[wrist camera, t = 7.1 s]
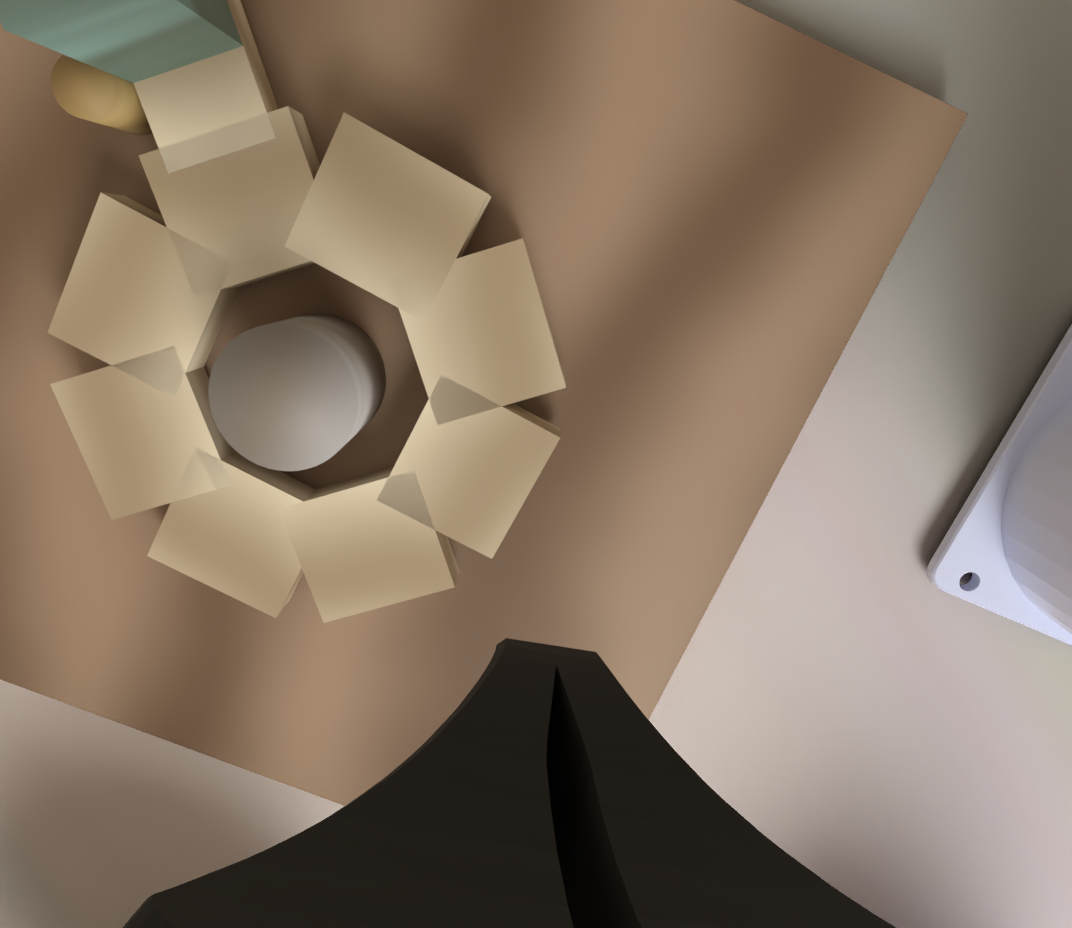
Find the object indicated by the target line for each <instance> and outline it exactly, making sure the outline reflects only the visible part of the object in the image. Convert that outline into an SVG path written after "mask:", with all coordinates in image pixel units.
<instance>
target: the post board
mask: <svg viewBox="0 0 1072 928" xmlns="http://www.w3.org/2000/svg"><path fill="white" fill-rule="evenodd" d="M240 1H241V4H242V6H243V9H244V12H245V15H246V18H247V21H248V24H249V26H250V29H251V32H252V35H253V38H254V41H255V44H256V46H257V49H258V52H259V55H260V58H261V61H262V64H263V66H264V69H265V72H266V75H267V78H268V81H269V84H270V86H271V89H272V92H273V95H274V98H275V101H276V104H277V106H278V109H281V108H284V107H287V106H289V107H291V108H292V109H294V110H296V111H298V112H299V113H301V114H303V117H304V120H305V123H306V126H307V129H308V132H309V135H310V138H311V141H312V144H313V146H314V149H315V152H316V155H317V158H318V161H319V164H320V165H321V163H322V161H323V158H324V156H325V154H326V152H327V149H328V147H329V145H330V143H331V140H332V138H333V136H334V134H335V131H336V129H337V127H338V125H339V122H340V120H341V118H342V116H343V113H344V112H345V113H346V114H348V115H350V116H352V117H354V118H355V119H357V120H359V121H361V122H362V123H364V124H366V125H368V126H369V127H371V128H373V129H375V130H376V131H378V132H380V133H382V134H384V135H385V136H387V137H389V138H391V139H392V140H394V141H396V142H398V143H399V144H401V145H403V146H405V147H406V148H408V149H410V150H412V151H414V152H415V153H417V154H419V155H421V156H422V157H424V158H426V159H428V160H429V161H431V162H433V163H435V164H437V165H438V166H440V167H442V168H444V169H445V170H447V171H449V172H451V173H452V174H454V175H456V176H458V177H459V178H461V179H463V180H465V181H467V182H468V183H470V184H472V185H474V186H475V187H477V188H479V189H481V190H482V191H484V192H486V193H488V194H489V195H490V196H491V199H490V201H489V203H488V205H487V207H486V209H485V211H484V213H483V215H482V217H481V219H480V221H479V223H478V225H477V227H476V229H475V231H474V233H473V235H472V237H471V239H470V241H469V243H468V245H467V247H466V249H465V251H464V253H463V255H462V257H464V256H467V255H470V254H473V253H477V252H480V251H483V250H486V249H489V248H493V247H496V246H499V245H502V244H506V243H509V242H512V241H515V240H519V239H522V238H523V239H524V240H525V244H526V247H527V251H528V254H529V257H530V261H531V264H532V268H533V271H534V275H535V278H536V282H537V285H538V289H539V292H540V295H541V299H542V302H543V306H544V309H545V313H546V316H547V320H548V323H549V327H550V330H551V334H552V337H553V340H554V344H555V347H556V351H557V354H558V358H559V361H560V365H561V368H562V372H563V375H564V378H565V383H566V388H563V389H560V390H556V391H553V392H550V393H546V394H543V395H539V396H536V397H532V398H529V399H526V400H522V401H519V402H515V403H513V404H515V405H517V406H519V407H521V408H523V409H525V410H526V411H528V412H530V413H532V414H534V415H536V416H538V417H539V418H541V419H543V420H545V421H547V422H549V423H551V424H553V425H554V426H556V427H558V428H560V440H559V441H558V443H557V445H556V447H555V448H554V450H553V452H552V454H551V455H550V457H549V459H548V461H547V463H546V464H545V466H544V468H543V470H542V471H541V473H540V475H539V477H538V478H537V480H536V482H535V484H534V486H533V487H532V489H531V491H530V493H529V494H528V496H527V498H526V500H525V501H524V503H523V505H522V507H521V509H520V510H519V512H518V514H517V516H516V517H515V519H514V521H513V523H512V524H511V526H510V528H509V530H508V532H507V533H506V535H505V537H504V539H503V540H502V542H501V544H500V546H499V547H498V549H497V551H496V553H495V555H494V556H493V558H492V559H491V558H489V557H487V556H485V555H483V554H481V553H479V552H477V551H475V550H473V549H471V548H469V547H467V546H465V545H463V544H461V543H460V542H458V541H456V540H454V539H452V538H450V537H448V536H447V537H448V540H449V542H450V545H451V548H452V551H453V554H454V557H455V560H456V563H457V566H458V569H459V574H458V578H457V581H456V585H455V587H454V588H450V589H447V590H443V591H439V592H436V593H432V594H428V595H425V596H421V597H417V598H414V599H410V600H406V601H403V602H399V603H395V604H392V605H388V606H384V607H381V608H377V609H373V610H370V611H366V612H362V613H359V614H355V615H351V616H348V617H344V618H340V619H337V620H333V621H329V622H326V623H323V620H322V618H321V615H320V613H319V610H318V608H317V605H316V603H315V600H314V597H313V595H312V592H311V590H310V587H309V585H308V582H307V580H306V577H305V575H304V572H303V574H302V576H301V578H300V580H299V582H298V584H297V586H296V588H295V590H294V592H293V594H292V596H291V598H290V600H289V602H288V603H287V604H286V606H285V607H284V608H283V610H282V611H281V612H280V614H279V615H278V616H277V618H274V617H272V616H270V615H268V614H266V613H264V612H262V611H260V610H258V609H256V608H254V607H252V606H250V605H247V604H245V603H243V602H241V601H239V600H237V599H235V598H233V597H231V596H229V595H227V594H225V593H223V592H221V591H218V590H216V589H214V588H212V587H210V586H208V585H206V584H204V583H202V582H200V581H198V580H196V579H194V578H192V577H189V576H187V575H185V574H183V573H181V572H179V571H177V570H175V569H173V568H171V567H169V566H167V565H165V564H163V563H160V562H158V561H156V560H154V559H152V558H150V557H148V556H147V555H148V553H149V550H150V548H151V546H152V544H153V541H154V539H155V537H156V535H157V532H158V530H159V528H160V526H161V523H162V521H163V519H164V517H165V514H166V512H167V510H168V508H169V505H170V503H168V504H165V505H162V506H158V507H155V508H151V509H148V510H144V511H141V512H138V513H134V514H131V515H127V516H124V517H120V518H117V519H113V520H111V518H110V515H109V513H108V511H107V509H106V507H105V504H104V502H103V500H102V498H101V496H100V493H99V491H98V489H97V487H96V484H95V482H94V480H93V478H92V476H91V473H90V471H89V469H88V467H87V465H86V462H85V460H84V458H83V456H82V454H81V451H80V449H79V447H78V445H77V443H76V440H75V438H74V436H73V434H72V432H71V429H70V427H69V425H68V423H67V420H66V418H65V416H64V414H63V412H62V409H61V407H60V405H59V403H58V401H57V398H56V396H55V394H54V392H53V390H52V387H51V385H50V384H52V383H56V382H59V381H62V380H65V379H69V378H72V377H75V376H78V375H82V374H85V373H88V372H91V371H95V370H98V369H101V368H104V367H107V366H111V365H110V364H108V363H106V362H104V361H102V360H100V359H98V358H96V357H94V356H92V355H90V354H88V353H86V352H84V351H82V350H80V349H78V348H76V347H74V346H72V345H70V344H68V343H67V342H65V341H63V340H61V339H59V338H57V337H55V336H53V335H51V334H49V333H47V332H48V330H49V327H50V324H51V322H52V319H53V316H54V314H55V311H56V308H57V306H58V303H59V301H60V298H61V295H62V293H63V290H64V287H65V285H66V282H67V279H68V277H69V274H70V272H71V269H72V266H73V264H74V261H75V258H76V256H77V253H78V250H79V248H80V245H81V243H82V240H83V237H84V235H85V232H86V229H87V227H88V224H89V221H90V219H91V216H92V214H93V211H94V208H95V206H96V203H97V200H98V198H99V195H100V192H102V193H110V194H117V195H124V196H127V197H128V198H130V199H132V200H134V201H136V202H138V203H140V204H142V205H143V206H145V207H147V208H149V209H151V210H153V211H155V212H156V213H158V214H160V215H162V214H161V211H160V209H159V206H158V204H157V201H156V199H155V196H154V194H153V191H152V189H151V186H150V184H149V181H148V179H147V176H146V174H145V171H144V169H143V166H142V163H141V161H140V158H139V155H142V154H145V153H148V152H151V151H154V150H157V149H159V148H158V145H157V143H156V140H155V138H154V135H153V133H152V130H151V128H150V125H149V122H148V120H147V117H146V115H145V112H144V110H143V107H142V104H141V102H140V99H139V97H138V94H137V92H136V89H135V86H134V84H133V83H131V82H129V81H127V80H124V79H122V78H119V77H117V76H114V75H112V74H110V73H107V72H105V71H102V70H100V69H98V68H95V67H93V66H90V65H88V64H85V63H83V62H81V61H78V60H76V59H73V58H71V57H68V56H66V55H64V54H61V53H59V52H56V51H54V50H51V49H49V48H47V47H44V46H42V45H39V44H37V43H34V42H32V41H30V40H27V39H25V38H22V37H20V36H18V35H15V34H13V33H10V32H8V31H5V30H3V27H2V25H1V23H0V679H1V680H4V681H7V682H9V683H12V684H15V685H18V686H20V687H23V688H26V689H29V690H31V691H34V692H37V693H39V694H42V695H45V696H48V697H50V698H53V699H56V700H58V701H61V702H64V703H67V704H69V705H72V706H75V707H78V708H80V709H83V710H86V711H88V712H91V713H94V714H97V715H99V716H102V717H105V718H107V719H110V720H113V721H116V722H118V723H121V724H124V725H127V726H129V727H132V728H135V729H137V730H140V731H143V732H146V733H148V734H151V735H154V736H156V737H159V738H162V739H165V740H167V741H170V742H173V743H175V744H178V745H181V746H184V747H186V748H189V749H192V750H195V751H197V752H200V753H203V754H205V755H208V756H211V757H214V758H216V759H219V760H222V761H224V762H227V763H230V764H233V765H235V766H238V767H241V768H244V769H246V770H249V771H252V772H254V773H257V774H260V775H263V776H265V777H268V778H271V779H273V780H276V781H279V782H282V783H284V784H287V785H290V786H293V787H295V788H298V789H301V790H303V791H306V792H309V793H312V794H314V795H317V796H320V797H322V798H325V799H328V800H331V801H333V802H336V803H339V804H342V805H344V806H346V805H348V804H349V803H350V802H352V801H353V800H354V799H356V798H357V797H359V796H360V795H361V794H363V793H364V792H366V791H367V790H368V789H370V788H371V787H373V786H374V785H375V784H377V783H378V782H380V781H381V780H382V779H383V778H385V777H386V776H387V775H388V774H390V773H391V772H392V771H393V770H394V769H396V768H397V767H398V766H399V765H400V764H402V763H403V762H404V761H405V760H406V759H407V758H409V757H410V756H411V755H412V754H413V753H414V752H415V751H416V750H417V749H418V748H419V747H421V746H422V745H423V744H424V743H425V742H426V741H427V740H428V739H429V738H430V737H431V736H432V735H433V733H434V732H435V731H436V730H437V729H438V728H439V727H440V726H441V725H442V724H443V723H444V722H445V721H446V720H447V718H448V717H449V716H450V715H451V714H452V713H453V712H454V711H455V710H456V709H457V707H458V706H459V705H460V704H461V702H462V701H463V700H464V699H465V697H466V696H467V695H468V693H469V692H470V691H471V689H472V688H473V687H474V685H475V684H476V683H477V682H478V680H479V679H480V677H481V676H482V674H483V672H484V671H485V669H486V668H487V666H488V664H489V663H490V661H491V659H492V657H493V655H494V652H495V650H496V645H497V644H498V643H500V642H501V641H503V640H504V639H506V638H509V639H516V640H522V641H529V642H535V643H542V644H548V645H555V646H561V647H568V648H574V649H581V650H587V651H594V652H597V654H598V655H599V656H600V657H601V659H602V660H603V661H604V663H605V664H606V665H607V667H608V668H609V669H610V671H611V672H612V674H613V675H614V676H615V678H616V679H617V680H618V682H619V683H620V684H621V686H622V687H623V688H624V690H625V691H626V692H627V694H628V695H629V696H630V697H631V699H632V700H633V701H634V703H635V704H636V705H637V706H638V708H639V709H640V710H641V711H642V713H643V714H644V715H645V716H646V718H647V719H648V720H649V718H650V716H651V714H652V712H653V710H654V708H655V706H656V704H657V702H658V701H659V699H660V697H661V695H662V693H663V691H664V689H665V687H666V685H667V684H668V682H669V680H670V678H671V676H672V674H673V672H674V670H675V668H676V666H677V665H678V663H679V661H680V659H681V657H682V655H683V653H684V651H685V649H686V648H687V646H688V644H689V642H690V640H691V638H692V636H693V634H694V632H695V631H696V629H697V627H698V625H699V623H700V621H701V619H702V617H703V615H704V613H705V612H706V610H707V608H708V606H709V604H710V602H711V600H712V598H713V596H714V595H715V593H716V591H717V589H718V587H719V585H720V583H721V581H722V579H723V577H724V576H725V574H726V572H727V570H728V568H729V566H730V564H731V562H732V560H733V559H734V557H735V555H736V553H737V551H738V549H739V547H740V545H741V543H742V541H743V540H744V538H745V536H746V534H747V532H748V530H749V528H750V526H751V524H752V523H753V521H754V519H755V517H756V515H757V513H758V511H759V509H760V507H761V505H762V504H763V502H764V500H765V498H766V496H767V494H768V492H769V490H770V488H771V487H772V485H773V483H774V481H775V479H776V477H777V475H778V473H779V471H780V469H781V468H782V466H783V464H784V462H785V460H786V458H787V456H788V454H789V452H790V451H791V449H792V447H793V445H794V443H795V441H796V439H797V437H798V435H799V433H800V432H801V430H802V428H803V426H804V424H805V422H806V420H807V418H808V416H809V415H810V413H811V411H812V409H813V407H814V405H815V403H816V401H817V399H818V398H819V396H820V394H821V392H822V390H823V388H824V386H825V384H826V382H827V380H828V379H829V377H830V375H831V373H832V371H833V369H834V367H835V365H836V363H837V362H838V360H839V358H840V356H841V354H842V352H843V350H844V348H845V346H846V344H847V343H848V341H849V339H850V337H851V335H852V333H853V331H854V329H855V327H856V326H857V324H858V322H859V320H860V318H861V316H862V314H863V312H864V310H865V308H866V307H867V305H868V303H869V301H870V299H871V297H872V295H873V293H874V291H875V290H876V288H877V286H878V284H879V282H880V280H881V278H882V276H883V274H884V272H885V271H886V269H887V267H888V265H889V263H890V261H891V259H892V257H893V255H894V254H895V252H896V250H897V248H898V246H899V244H900V242H901V240H902V238H903V236H904V235H905V233H906V231H907V229H908V227H909V225H910V223H911V221H912V219H913V218H914V216H915V214H916V212H917V210H918V208H919V206H920V204H921V202H922V200H923V199H924V197H925V195H926V193H927V191H928V189H929V187H930V185H931V183H932V182H933V180H934V178H935V176H936V174H937V172H938V170H939V168H940V166H941V164H942V163H943V161H944V159H945V157H946V155H947V153H948V151H949V149H950V147H951V146H952V144H953V142H954V140H955V138H956V136H957V134H958V132H959V130H960V129H961V127H962V125H963V123H964V121H965V119H966V117H967V115H968V114H967V113H965V112H963V111H961V110H959V109H957V108H955V107H953V106H951V105H949V104H947V103H945V102H942V101H940V100H938V99H936V98H934V97H932V96H930V95H928V94H926V93H924V92H922V91H920V90H918V89H916V88H914V87H912V86H910V85H908V84H905V83H903V82H901V81H899V80H897V79H895V78H893V77H891V76H889V75H887V74H885V73H883V72H881V71H879V70H877V69H875V68H873V67H871V66H869V65H866V64H864V63H862V62H860V61H858V60H856V59H854V58H852V57H850V56H848V55H846V54H844V53H842V52H840V51H838V50H836V49H834V48H832V47H829V46H827V45H825V44H823V43H821V42H819V41H817V40H815V39H813V38H811V37H809V36H807V35H805V34H803V33H801V32H799V31H797V30H795V29H792V28H790V27H788V26H786V25H784V24H782V23H780V22H778V21H776V20H774V19H772V18H770V17H768V16H766V15H764V14H762V13H760V12H758V11H756V10H753V9H751V8H749V7H747V6H745V5H743V4H741V3H739V2H737V1H735V0H240ZM204 368H205V371H206V373H207V376H208V378H209V388H208V394H209V404H210V409H211V413H212V416H213V419H214V421H215V423H216V426H217V428H218V429H219V431H220V433H221V434H222V436H223V437H224V438H225V440H226V441H227V442H228V443H229V444H230V445H231V447H232V448H233V449H234V450H236V451H237V452H238V453H239V454H240V455H242V456H243V457H245V458H246V459H248V460H249V461H251V462H253V463H255V464H257V465H259V466H262V467H265V468H268V469H273V470H278V471H280V472H282V473H284V474H286V475H288V476H290V477H292V478H294V479H296V480H298V481H300V482H302V483H304V484H306V485H308V486H310V487H312V488H314V489H318V488H322V487H325V486H329V485H332V484H336V483H339V482H343V481H346V480H350V479H353V478H357V477H360V476H364V475H367V474H371V473H374V472H378V471H381V470H384V469H388V468H391V467H394V466H395V464H396V462H397V460H398V458H399V456H400V454H401V452H402V450H403V448H404V446H405V444H406V442H407V440H408V438H409V436H410V434H411V433H412V431H413V429H414V427H415V425H416V423H417V421H418V419H419V417H420V415H421V413H422V411H423V409H424V407H425V405H426V403H427V401H428V399H429V398H428V395H427V392H426V389H425V386H424V383H423V380H422V377H421V374H420V371H419V368H418V365H417V362H416V359H415V356H414V353H413V350H412V347H411V344H410V341H409V338H408V335H407V332H406V329H405V326H404V323H403V320H402V317H401V314H400V311H399V308H398V307H396V306H394V305H392V304H390V303H389V302H387V301H385V300H383V299H381V298H379V297H377V296H376V295H374V294H372V293H370V292H368V291H366V290H364V289H363V288H361V287H359V286H357V285H355V284H353V283H352V282H350V281H348V280H346V279H344V278H342V277H340V276H339V275H337V274H335V273H333V272H331V271H329V270H327V269H326V268H324V267H322V266H320V265H318V264H316V263H314V264H311V265H308V266H304V267H301V268H298V269H295V270H292V271H288V272H285V273H282V274H279V275H276V276H273V277H269V278H266V279H263V280H260V281H257V282H253V283H250V284H247V285H244V286H241V287H238V289H237V292H236V294H235V296H234V299H233V301H232V303H231V306H230V308H229V310H228V312H227V315H226V317H225V319H224V322H223V324H222V326H221V329H220V331H219V333H218V335H217V338H216V340H215V342H214V345H213V347H212V349H211V352H210V354H209V356H208V358H207V361H206V363H205V365H204Z"/></svg>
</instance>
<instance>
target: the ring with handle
mask: <svg viewBox="0 0 1072 928" xmlns="http://www.w3.org/2000/svg"><path fill="white" fill-rule="evenodd" d="M0 23H1V25H2V27H3V30H5V31H8V32H10V33H13V34H15V35H18V36H20V37H22V38H25V39H27V40H30V41H32V42H34V43H37V44H39V45H42V46H44V47H47V48H49V49H51V50H54V51H56V52H59V53H61V54H64V55H66V56H68V57H71V58H73V59H76V60H78V61H81V62H83V63H85V64H88V65H90V66H93V67H95V68H98V69H100V70H102V71H105V72H107V73H110V74H112V75H114V76H117V77H119V78H122V79H124V80H127V81H129V82H131V83H133V84H134V86H135V89H136V92H137V94H138V97H139V99H140V102H141V104H142V107H143V110H144V112H145V115H146V117H147V120H148V122H149V125H150V128H151V130H152V133H153V135H154V138H155V140H156V143H157V145H158V148H159V149H157V150H154V151H151V152H148V153H145V154H142V155H139V158H140V161H141V163H142V166H143V169H144V171H145V174H146V176H147V179H148V181H149V184H150V186H151V189H152V191H153V194H154V196H155V199H156V201H157V204H158V206H159V209H160V211H161V214H162V215H160V214H158V213H156V212H155V211H153V210H151V209H149V208H147V207H145V206H143V205H142V204H140V203H138V202H136V201H134V200H132V199H130V198H128V197H127V196H124V195H117V194H110V193H102V192H100V195H99V198H98V200H97V203H96V206H95V208H94V211H93V214H92V216H91V219H90V221H89V224H88V227H87V229H86V232H85V235H84V237H83V240H82V243H81V245H80V248H79V250H78V253H77V256H76V258H75V261H74V264H73V266H72V269H71V272H70V274H69V277H68V279H67V282H66V285H65V287H64V290H63V293H62V295H61V298H60V301H59V303H58V306H57V308H56V311H55V314H54V316H53V319H52V322H51V324H50V327H49V330H48V332H47V333H49V334H51V335H53V336H55V337H57V338H59V339H61V340H63V341H65V342H67V343H68V344H70V345H72V346H74V347H76V348H78V349H80V350H82V351H84V352H86V353H88V354H90V355H92V356H94V357H96V358H98V359H100V360H102V361H104V362H106V363H108V364H110V365H111V366H107V367H104V368H101V369H98V370H95V371H91V372H88V373H85V374H82V375H78V376H75V377H72V378H69V379H65V380H62V381H59V382H56V383H52V384H50V385H51V387H52V390H53V392H54V394H55V396H56V398H57V401H58V403H59V405H60V407H61V409H62V412H63V414H64V416H65V418H66V420H67V423H68V425H69V427H70V429H71V432H72V434H73V436H74V438H75V440H76V443H77V445H78V447H79V449H80V451H81V454H82V456H83V458H84V460H85V462H86V465H87V467H88V469H89V471H90V473H91V476H92V478H93V480H94V482H95V484H96V487H97V489H98V491H99V493H100V496H101V498H102V500H103V502H104V504H105V507H106V509H107V511H108V513H109V515H110V518H111V520H113V519H117V518H120V517H124V516H127V515H131V514H134V513H138V512H141V511H144V510H148V509H151V508H155V507H158V506H162V505H165V504H168V503H170V505H169V508H168V510H167V512H166V514H165V517H164V519H163V521H162V523H161V526H160V528H159V530H158V532H157V535H156V537H155V539H154V541H153V544H152V546H151V548H150V550H149V553H148V555H147V556H148V557H150V558H152V559H154V560H156V561H158V562H160V563H163V564H165V565H167V566H169V567H171V568H173V569H175V570H177V571H179V572H181V573H183V574H185V575H187V576H189V577H192V578H194V579H196V580H198V581H200V582H202V583H204V584H206V585H208V586H210V587H212V588H214V589H216V590H218V591H221V592H223V593H225V594H227V595H229V596H231V597H233V598H235V599H237V600H239V601H241V602H243V603H245V604H247V605H250V606H252V607H254V608H256V609H258V610H260V611H262V612H264V613H266V614H268V615H270V616H272V617H274V618H277V616H278V615H279V614H280V612H281V611H282V610H283V608H284V607H285V606H286V604H287V603H288V602H289V600H290V598H291V596H292V594H293V592H294V590H295V588H296V586H297V584H298V582H299V580H300V578H301V576H302V574H303V572H304V575H305V577H306V580H307V582H308V585H309V587H310V590H311V592H312V595H313V597H314V600H315V603H316V605H317V608H318V610H319V613H320V615H321V618H322V620H323V623H326V622H329V621H333V620H337V619H340V618H344V617H348V616H351V615H355V614H359V613H362V612H366V611H370V610H373V609H377V608H381V607H384V606H388V605H392V604H395V603H399V602H403V601H406V600H410V599H414V598H417V597H421V596H425V595H428V594H432V593H436V592H439V591H443V590H447V589H450V588H454V587H455V585H456V581H457V578H458V574H459V569H458V566H457V563H456V560H455V557H454V554H453V551H452V548H451V545H450V542H449V540H448V537H450V538H452V539H454V540H456V541H458V542H460V543H461V544H463V545H465V546H467V547H469V548H471V549H473V550H475V551H477V552H479V553H481V554H483V555H485V556H487V557H489V558H491V559H492V558H493V556H494V555H495V553H496V551H497V549H498V547H499V546H500V544H501V542H502V540H503V539H504V537H505V535H506V533H507V532H508V530H509V528H510V526H511V524H512V523H513V521H514V519H515V517H516V516H517V514H518V512H519V510H520V509H521V507H522V505H523V503H524V501H525V500H526V498H527V496H528V494H529V493H530V491H531V489H532V487H533V486H534V484H535V482H536V480H537V478H538V477H539V475H540V473H541V471H542V470H543V468H544V466H545V464H546V463H547V461H548V459H549V457H550V455H551V454H552V452H553V450H554V448H555V447H556V445H557V443H558V441H559V440H560V428H558V427H556V426H554V425H553V424H551V423H549V422H547V421H545V420H543V419H541V418H539V417H538V416H536V415H534V414H532V413H530V412H528V411H526V410H525V409H523V408H521V407H519V406H517V405H515V404H513V403H515V402H519V401H522V400H526V399H529V398H532V397H536V396H539V395H543V394H546V393H550V392H553V391H556V390H560V389H563V388H566V383H565V378H564V375H563V372H562V368H561V365H560V361H559V358H558V354H557V351H556V347H555V344H554V340H553V337H552V334H551V330H550V327H549V323H548V320H547V316H546V313H545V309H544V306H543V302H542V299H541V295H540V292H539V289H538V285H537V282H536V278H535V275H534V271H533V268H532V264H531V261H530V257H529V254H528V251H527V247H526V244H525V240H524V239H523V238H522V239H519V240H515V241H512V242H509V243H506V244H502V245H499V246H496V247H493V248H489V249H486V250H483V251H480V252H477V253H473V254H470V255H467V256H464V257H462V255H463V253H464V251H465V249H466V247H467V245H468V243H469V241H470V239H471V237H472V235H473V233H474V231H475V229H476V227H477V225H478V223H479V221H480V219H481V217H482V215H483V213H484V211H485V209H486V207H487V205H488V203H489V201H490V199H491V196H490V195H489V194H488V193H486V192H484V191H482V190H481V189H479V188H477V187H475V186H474V185H472V184H470V183H468V182H467V181H465V180H463V179H461V178H459V177H458V176H456V175H454V174H452V173H451V172H449V171H447V170H445V169H444V168H442V167H440V166H438V165H437V164H435V163H433V162H431V161H429V160H428V159H426V158H424V157H422V156H421V155H419V154H417V153H415V152H414V151H412V150H410V149H408V148H406V147H405V146H403V145H401V144H399V143H398V142H396V141H394V140H392V139H391V138H389V137H387V136H385V135H384V134H382V133H380V132H378V131H376V130H375V129H373V128H371V127H369V126H368V125H366V124H364V123H362V122H361V121H359V120H357V119H355V118H354V117H352V116H350V115H348V114H346V113H345V112H344V113H343V116H342V118H341V120H340V122H339V125H338V127H337V129H336V131H335V134H334V136H333V138H332V140H331V143H330V145H329V147H328V149H327V152H326V154H325V156H324V158H323V161H322V163H321V165H320V164H319V161H318V158H317V155H316V152H315V149H314V146H313V144H312V141H311V138H310V135H309V132H308V129H307V126H306V123H305V120H304V117H303V114H301V113H299V112H298V111H296V110H294V109H292V108H291V107H289V106H287V107H284V108H281V109H278V106H277V104H276V101H275V98H274V95H273V92H272V89H271V86H270V84H269V81H268V78H267V75H266V72H265V69H264V66H263V64H262V61H261V58H260V55H259V52H258V49H257V46H256V44H255V41H254V38H253V35H252V32H251V29H250V26H249V24H248V21H247V18H246V15H245V12H244V9H243V6H242V4H241V1H240V0H0ZM314 263H316V264H318V265H320V266H322V267H324V268H326V269H327V270H329V271H331V272H333V273H335V274H337V275H339V276H340V277H342V278H344V279H346V280H348V281H350V282H352V283H353V284H355V285H357V286H359V287H361V288H363V289H364V290H366V291H368V292H370V293H372V294H374V295H376V296H377V297H379V298H381V299H383V300H385V301H387V302H389V303H390V304H392V305H394V306H396V307H398V308H399V311H400V314H401V317H402V320H403V323H404V326H405V329H406V332H407V335H408V338H409V341H410V344H411V347H412V350H413V353H414V356H415V359H416V362H417V365H418V368H419V371H420V374H421V377H422V380H423V383H424V386H425V389H426V392H427V395H428V398H429V399H428V401H427V403H426V405H425V407H424V409H423V411H422V413H421V415H420V417H419V419H418V421H417V423H416V425H415V427H414V429H413V431H412V433H411V434H410V436H409V438H408V440H407V442H406V444H405V446H404V448H403V450H402V452H401V454H400V456H399V458H398V460H397V462H396V464H395V466H394V467H391V468H388V469H384V470H381V471H378V472H374V473H371V474H367V475H364V476H360V477H357V478H353V479H350V480H346V481H343V482H339V483H336V484H332V485H329V486H325V487H322V488H318V489H314V488H312V487H310V486H308V485H306V484H304V483H302V482H300V481H298V480H296V479H294V478H292V477H290V476H288V475H286V474H284V473H282V472H280V471H278V470H273V469H268V468H265V467H262V466H259V465H257V464H255V463H253V462H251V461H249V460H248V459H246V458H245V457H243V456H242V455H240V454H239V453H238V452H237V451H236V450H234V449H233V448H232V447H231V445H230V444H229V443H228V442H227V441H226V440H225V438H224V437H223V436H222V434H221V433H220V431H219V429H218V428H217V426H216V423H215V421H214V419H213V416H212V413H211V409H210V404H209V394H208V388H209V378H208V376H207V373H206V371H205V368H204V365H205V363H206V361H207V358H208V356H209V354H210V352H211V349H212V347H213V345H214V342H215V340H216V338H217V335H218V333H219V331H220V329H221V326H222V324H223V322H224V319H225V317H226V315H227V312H228V310H229V308H230V306H231V303H232V301H233V299H234V296H235V294H236V292H237V289H238V287H241V286H244V285H247V284H250V283H253V282H257V281H260V280H263V279H266V278H269V277H273V276H276V275H279V274H282V273H285V272H288V271H292V270H295V269H298V268H301V267H304V266H308V265H311V264H314ZM447 536H448V537H447Z"/></svg>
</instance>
